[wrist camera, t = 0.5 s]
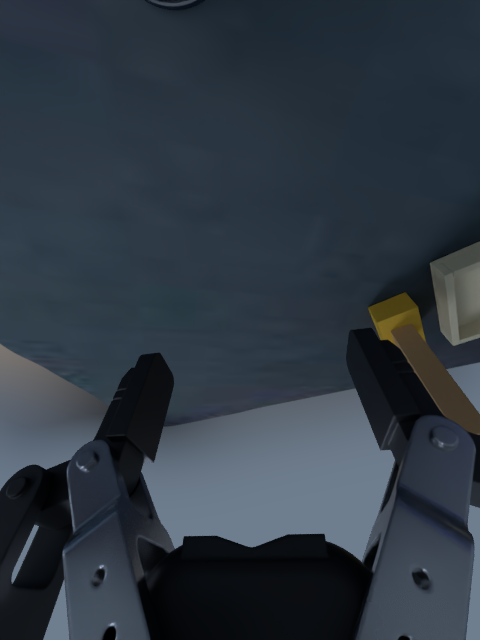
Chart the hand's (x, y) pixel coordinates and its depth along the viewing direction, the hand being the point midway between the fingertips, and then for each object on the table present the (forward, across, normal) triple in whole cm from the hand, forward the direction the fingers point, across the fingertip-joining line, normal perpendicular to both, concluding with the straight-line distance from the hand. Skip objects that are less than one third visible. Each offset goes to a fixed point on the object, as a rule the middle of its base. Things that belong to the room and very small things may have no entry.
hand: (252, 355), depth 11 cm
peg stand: (+19, -17, +16) cm, 30 cm away
